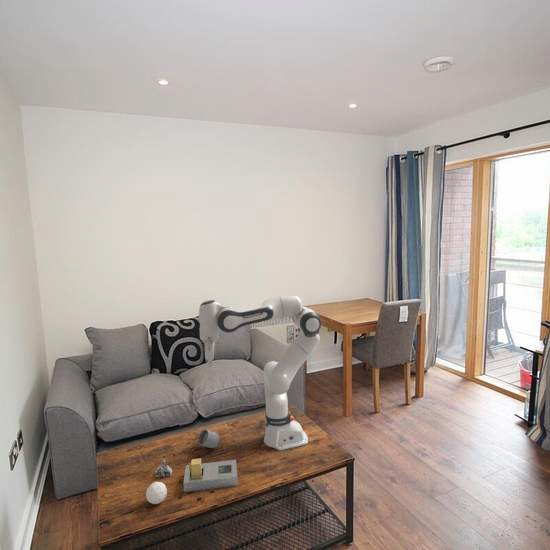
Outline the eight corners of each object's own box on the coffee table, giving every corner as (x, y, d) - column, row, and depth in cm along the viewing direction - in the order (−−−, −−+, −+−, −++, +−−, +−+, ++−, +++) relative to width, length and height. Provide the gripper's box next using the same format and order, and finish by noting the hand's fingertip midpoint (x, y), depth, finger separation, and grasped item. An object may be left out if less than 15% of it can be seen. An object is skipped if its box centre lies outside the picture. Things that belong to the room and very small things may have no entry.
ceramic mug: (213, 452, 185) (222, 441, 184) (199, 449, 181) (209, 437, 179) (208, 435, 194) (217, 424, 193) (195, 431, 189) (204, 420, 188)
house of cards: (147, 485, 160) (146, 468, 159) (152, 472, 168) (151, 456, 167) (168, 484, 160) (167, 467, 159) (173, 471, 169) (172, 455, 168)
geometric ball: (168, 505, 147) (167, 486, 146) (147, 511, 144) (146, 492, 143) (166, 493, 154) (165, 474, 153) (145, 499, 151) (144, 480, 150)
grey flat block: (236, 468, 169) (236, 459, 169) (237, 485, 158) (237, 476, 157) (186, 473, 166) (185, 465, 166) (183, 492, 154) (183, 482, 154)
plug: (202, 477, 163) (201, 458, 162) (201, 483, 159) (200, 463, 158) (190, 479, 162) (189, 459, 162) (189, 485, 159) (188, 465, 158)
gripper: (215, 340, 168) (216, 370, 170) (216, 329, 188) (217, 356, 190) (201, 341, 167) (202, 371, 169) (203, 329, 187) (204, 356, 189)
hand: (210, 363), depth 179 cm, fingers open, 8 cm apart
